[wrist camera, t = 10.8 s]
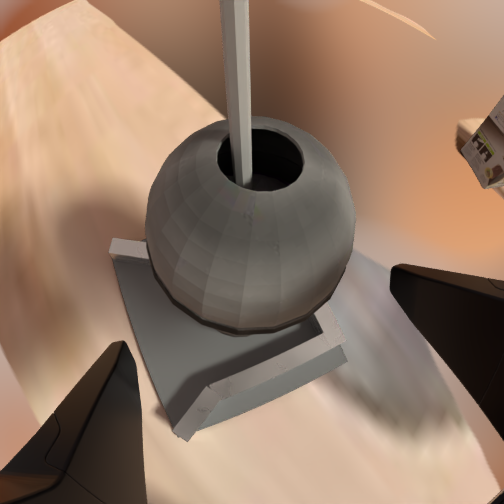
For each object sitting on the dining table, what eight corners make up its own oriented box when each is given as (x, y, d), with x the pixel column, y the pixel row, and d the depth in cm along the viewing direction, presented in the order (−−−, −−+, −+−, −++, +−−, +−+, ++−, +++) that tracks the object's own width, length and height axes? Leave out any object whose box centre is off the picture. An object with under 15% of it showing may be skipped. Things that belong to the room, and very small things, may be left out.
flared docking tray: (182, 439, 18) (178, 445, 16) (113, 250, 23) (105, 240, 21) (347, 365, 21) (357, 363, 19) (260, 196, 25) (262, 183, 24)
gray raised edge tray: (178, 436, 18) (177, 437, 17) (112, 254, 22) (110, 252, 22) (345, 361, 21) (347, 361, 20) (261, 199, 25) (262, 196, 25)
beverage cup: (241, 379, 19) (450, 403, 1) (164, 306, 21) (-10, 23, 2) (309, 302, 22) (517, 56, 3) (235, 238, 23) (262, -63, 5)
